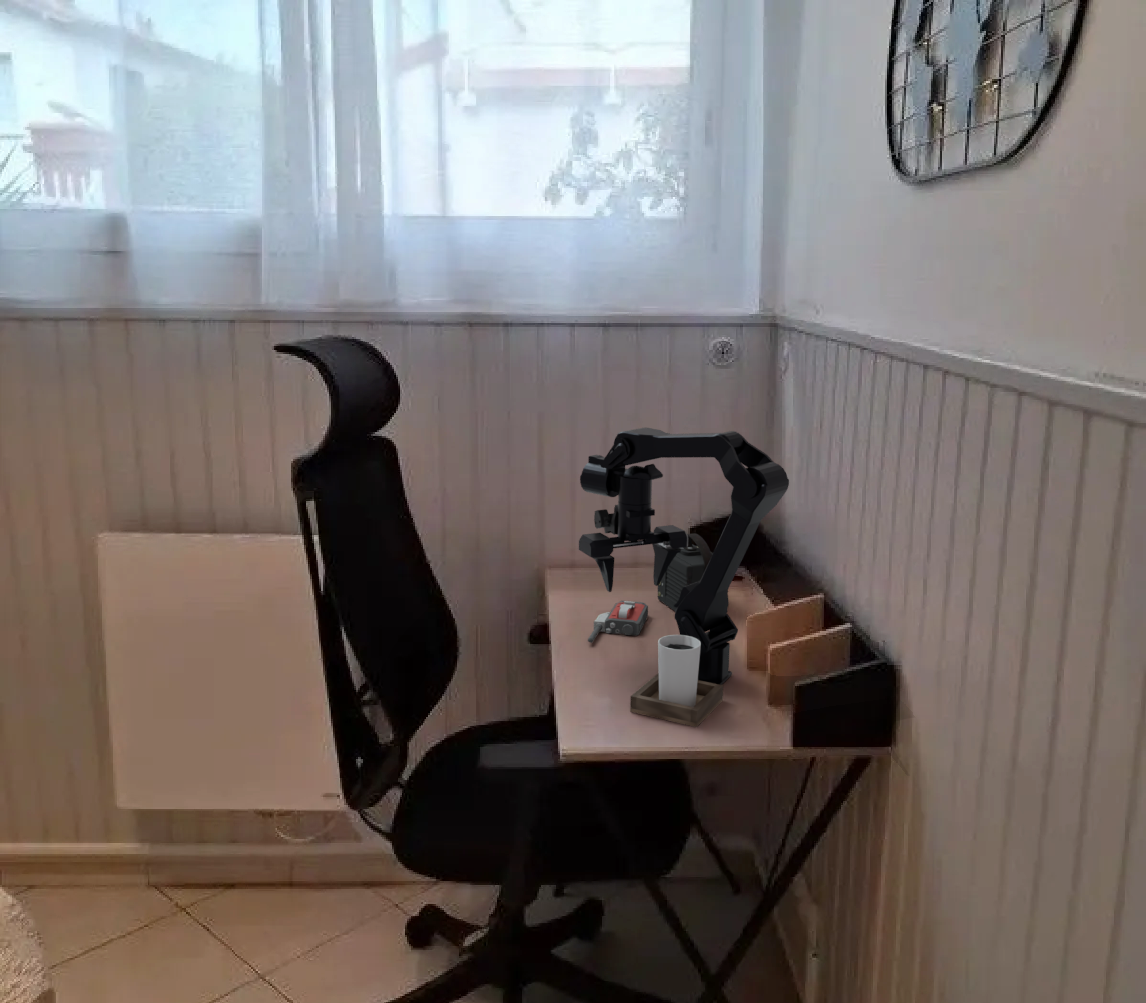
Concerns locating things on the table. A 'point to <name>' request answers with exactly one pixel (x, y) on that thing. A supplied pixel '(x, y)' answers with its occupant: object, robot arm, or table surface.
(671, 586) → the camera
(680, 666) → the white cup
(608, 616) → the walkie-talkie
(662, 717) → the frame
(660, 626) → the table surface
